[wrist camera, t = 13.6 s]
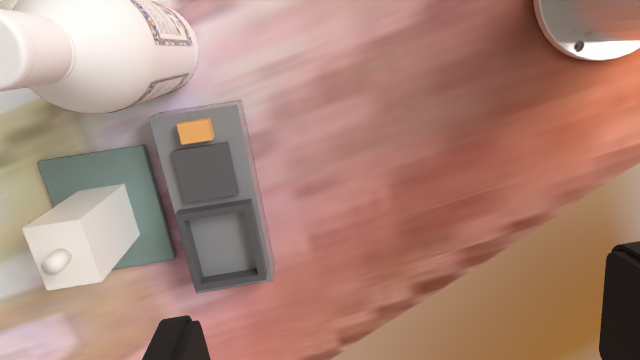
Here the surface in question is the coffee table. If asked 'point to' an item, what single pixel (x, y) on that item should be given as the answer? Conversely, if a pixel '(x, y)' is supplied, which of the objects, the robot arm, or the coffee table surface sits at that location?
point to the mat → (140, 186)
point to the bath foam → (95, 52)
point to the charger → (82, 237)
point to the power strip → (215, 194)
